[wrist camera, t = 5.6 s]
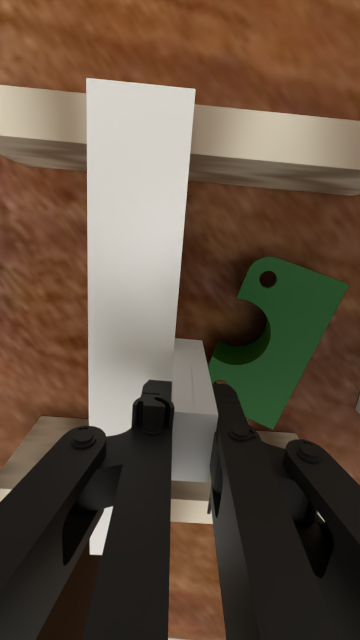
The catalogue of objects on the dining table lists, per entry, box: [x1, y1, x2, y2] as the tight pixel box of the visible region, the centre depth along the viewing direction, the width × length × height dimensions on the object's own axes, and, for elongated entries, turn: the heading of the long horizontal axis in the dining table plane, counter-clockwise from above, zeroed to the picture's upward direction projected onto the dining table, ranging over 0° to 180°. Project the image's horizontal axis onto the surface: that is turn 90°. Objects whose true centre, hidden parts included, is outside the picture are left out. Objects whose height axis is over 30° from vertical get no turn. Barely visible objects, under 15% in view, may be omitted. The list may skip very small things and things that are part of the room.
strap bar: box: [86, 78, 196, 555], centre depth 15 cm, size 4×24×2 cm, turn 175°
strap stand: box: [0, 85, 360, 524], centre depth 21 cm, size 24×25×8 cm
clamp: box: [208, 257, 349, 429], centre depth 22 cm, size 12×6×9 cm, turn 154°
